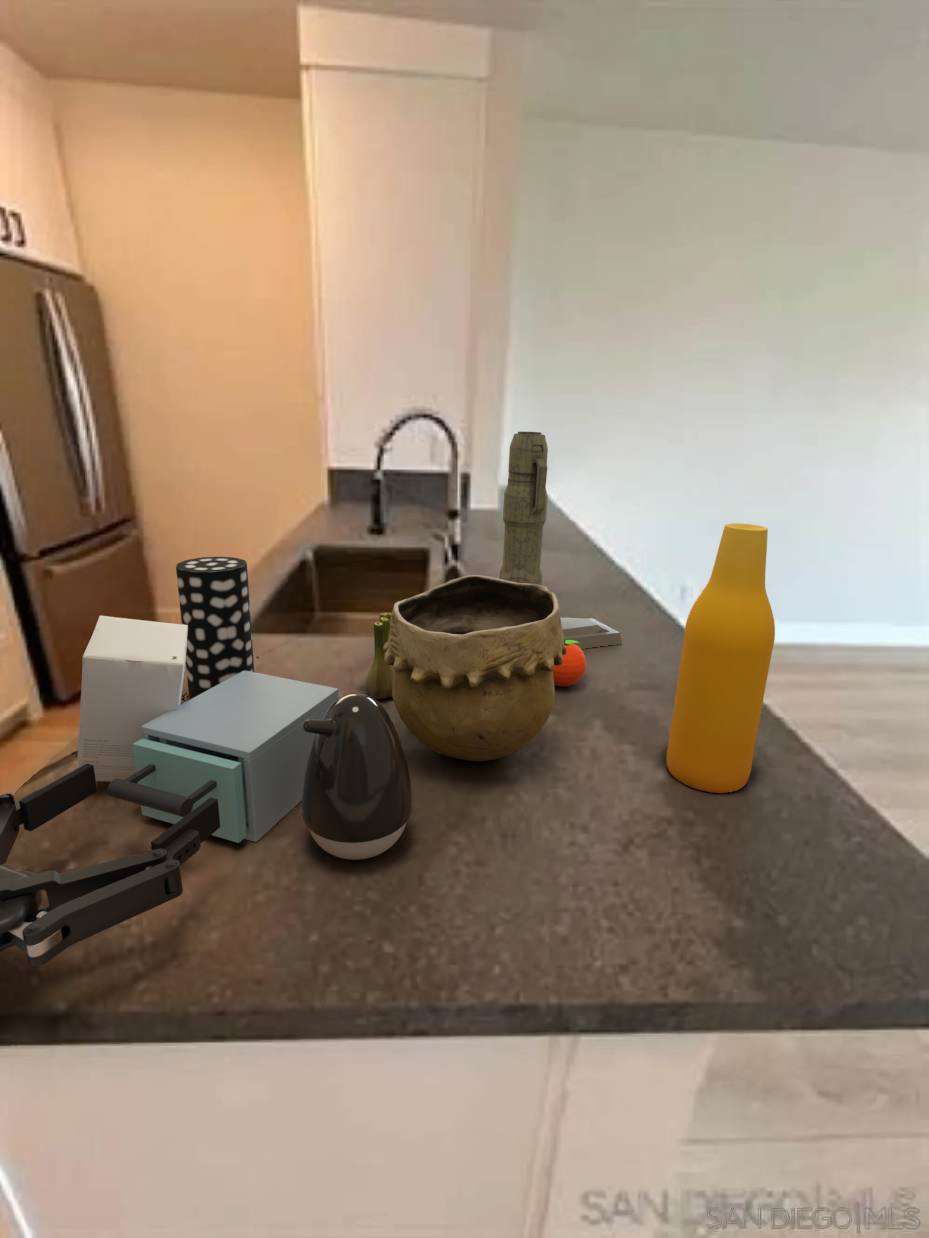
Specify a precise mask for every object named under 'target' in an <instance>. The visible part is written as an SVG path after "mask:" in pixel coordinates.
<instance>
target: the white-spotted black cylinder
mask: <svg viewBox="0 0 929 1238" xmlns="http://www.w3.org/2000/svg"><path fill="white" fill-rule="evenodd" d="M175 571H176V582H177V592H178V603H179V611H180V620H181V624H182V625H188V632H187V649H186V661H185V670H186V680H187V689H188V701H189V700H190V699H192V698H194V697H196V696H198V695H200V694H201V693H203V692H205V691H207V690H209V689H211V688H213V687H214V686H216V685H218V684H220V683H222V682H224V681H225V680H227V679H229V678H231V677H233V676H235V675H237V674H238V673H240V672H242V671H244V670H245V671H250V672H255V662H254V661H255V660H254V659H255V658H254V645H253V632H252V631H253V630H252V618H251V617H252V616H251V603H250V587H249V586H250V585H249V574H248V573H249V572H248V562H247V560H245V559H243V558H238V557H233V556H204V557H203V556H202V557H196V558H190V559H186V560H183V561H180V562H178V563H176V565H175Z"/></svg>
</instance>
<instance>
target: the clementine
mask: <svg viewBox="0 0 929 1238" xmlns="http://www.w3.org/2000/svg"><path fill="white" fill-rule="evenodd" d="M575 643H579V642H577V641H574V640H564V645H565V647H566V648H567V652H566V654H565V655H562V664H561V665H558V666H556V665H554V666H553V678H554V686H557V687H569V686H572V685H575V684H576V683H578V681H580V680H581V679H582V677H583V676H584V674H585V672H586V668H587V659H586V656H585V653H587V649H585V646H584V645H583V644H581V643H580V644H581V645H582V646H583V647H584V649H581V648H580V647H579V646H577V645H576V644H575ZM583 650H584V651H583ZM584 652H585V653H584Z"/></svg>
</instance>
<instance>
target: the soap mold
mask: <svg viewBox="0 0 929 1238" xmlns="http://www.w3.org/2000/svg"><path fill="white" fill-rule="evenodd" d="M560 618H561V625H562V631H563V634H564V637H563V639H564V640H574V641H577V642H579V643H575V644H576V645H577V646H579V647H580V648H581V650H585V649H584V647H583V646H582V645H581V644H583V645H584V646H585V648H589V649H593V648H592V647H597V648H601V647H600V646H606V647H609V646H608V645H614V646H618V645H617V644H622V645H623V643H622V637H621V632H620V631H617V630H616V629H614V628H613V627H610V626H608V625H606V624H604V623H603V622H601V621H599V620H597V619H594V618H593V617H589V618H579V617H560ZM580 643H581V644H580Z"/></svg>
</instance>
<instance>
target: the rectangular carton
mask: <svg viewBox="0 0 929 1238" xmlns="http://www.w3.org/2000/svg"><path fill="white" fill-rule="evenodd" d="M187 632H188V625H182V623H181V624H180V623H171V622H163V621H162V622H161V621H155V620H154V621H152V620H145V619H144V620H142V619H134V618H125V617H117V616H116V617H115V616H109V615H100V614H99V615H98V620H97V621H96V624H95V627H94V630H93V633H92V634H91V637H90V640H89V641H88V644H87V646H86V648H85V651H84V653H83V654H82V668H81V688H80V689H81V691H80V704H79V705H80V706H79V724H78V739H77V740H78V741H77V759H76V769H78V768H80V767H81V766H83V765H85V764H91V765H93V766H94V772H95V779H96V782H111V781H112V780H114V779H117V778H118V779H122V780H125V779H127V778H128V777H130V776H131V775H133V774H135V773H136V764H135V757H134V749H133V743H135V742H137V741H139V740H140V739H142V732H141V726H142V725H144V724H146V723H148V722H150V721H152V720H153V719H155V718H157V717H159V716H161V715H163V714H165V713H166V712H168V711H172V710H178V707H179V705H181V703H182V696H183V686H184V677H185V670H186V649H187Z"/></svg>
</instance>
